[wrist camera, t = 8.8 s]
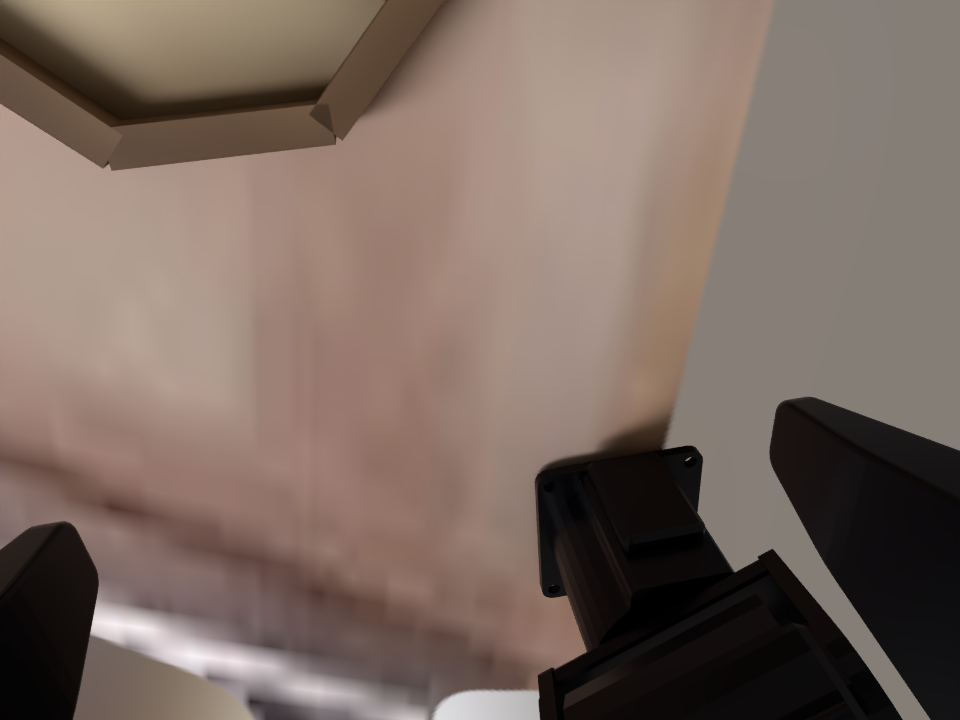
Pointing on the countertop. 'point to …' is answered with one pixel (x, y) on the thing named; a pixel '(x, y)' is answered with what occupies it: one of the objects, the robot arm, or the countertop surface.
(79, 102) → the tray
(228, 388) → the countertop surface
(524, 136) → the countertop surface
